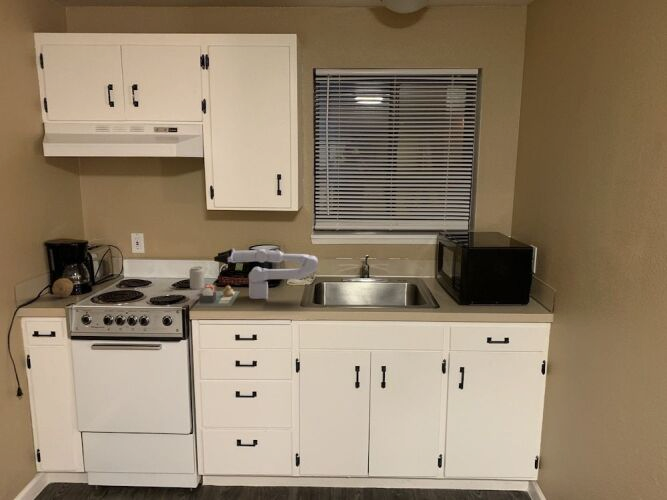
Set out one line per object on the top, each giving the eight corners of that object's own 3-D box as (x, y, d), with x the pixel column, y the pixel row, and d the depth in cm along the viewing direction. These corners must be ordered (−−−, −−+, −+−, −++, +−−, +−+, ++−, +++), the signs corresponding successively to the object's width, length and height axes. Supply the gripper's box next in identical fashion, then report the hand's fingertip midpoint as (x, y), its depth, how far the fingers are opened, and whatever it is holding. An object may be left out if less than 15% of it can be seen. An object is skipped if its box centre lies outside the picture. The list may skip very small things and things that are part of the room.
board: (239, 293, 246) (239, 284, 245) (231, 307, 221) (230, 298, 220) (207, 292, 245) (206, 284, 245) (194, 307, 220) (194, 298, 219)
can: (190, 291, 248) (189, 269, 246) (189, 287, 255) (188, 266, 253) (205, 290, 251) (204, 268, 249) (203, 286, 258) (202, 265, 256)
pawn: (233, 294, 240) (233, 284, 239) (232, 297, 235) (232, 286, 234) (224, 294, 240) (223, 284, 239) (222, 297, 235) (221, 286, 234)
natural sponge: (60, 301, 226) (59, 281, 224) (48, 299, 229) (46, 279, 228) (77, 296, 234) (76, 277, 232) (66, 294, 237) (64, 275, 236)
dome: (214, 296, 230) (214, 286, 229) (212, 299, 225) (211, 289, 224) (204, 296, 230) (203, 286, 229) (201, 299, 225) (201, 289, 224)
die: (214, 292, 242) (214, 284, 242) (212, 294, 239) (212, 286, 238) (206, 292, 242) (206, 284, 241) (204, 294, 238) (204, 286, 238)
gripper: (245, 245, 239) (218, 246, 239) (240, 251, 225) (211, 252, 225) (246, 258, 241) (220, 259, 241) (241, 265, 226) (213, 266, 226)
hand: (216, 257), depth 233 cm, fingers open, 7 cm apart
